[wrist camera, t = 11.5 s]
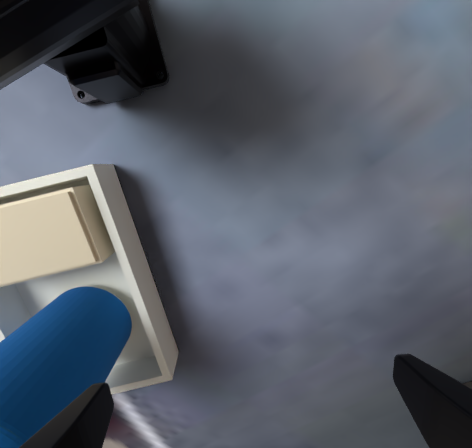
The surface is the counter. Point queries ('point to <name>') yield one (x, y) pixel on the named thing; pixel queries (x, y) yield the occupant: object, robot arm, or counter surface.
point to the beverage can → (58, 358)
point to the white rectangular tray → (101, 280)
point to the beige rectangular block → (51, 235)
